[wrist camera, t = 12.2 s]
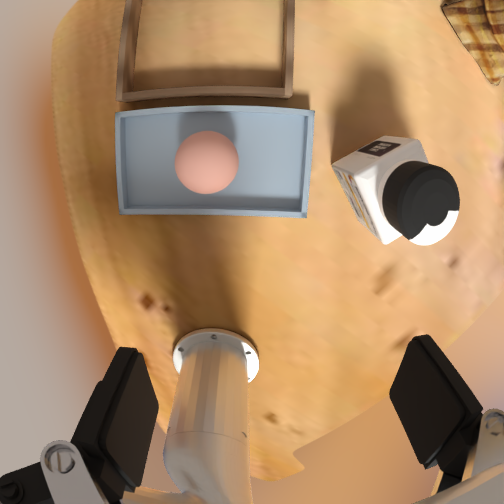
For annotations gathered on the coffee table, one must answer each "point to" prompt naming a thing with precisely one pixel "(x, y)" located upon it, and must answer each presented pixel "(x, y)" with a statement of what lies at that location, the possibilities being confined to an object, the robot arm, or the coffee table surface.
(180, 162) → the ball
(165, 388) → the coffee table surface
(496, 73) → the plaid cloth bag
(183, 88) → the wooden box frame
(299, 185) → the tray
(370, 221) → the container
